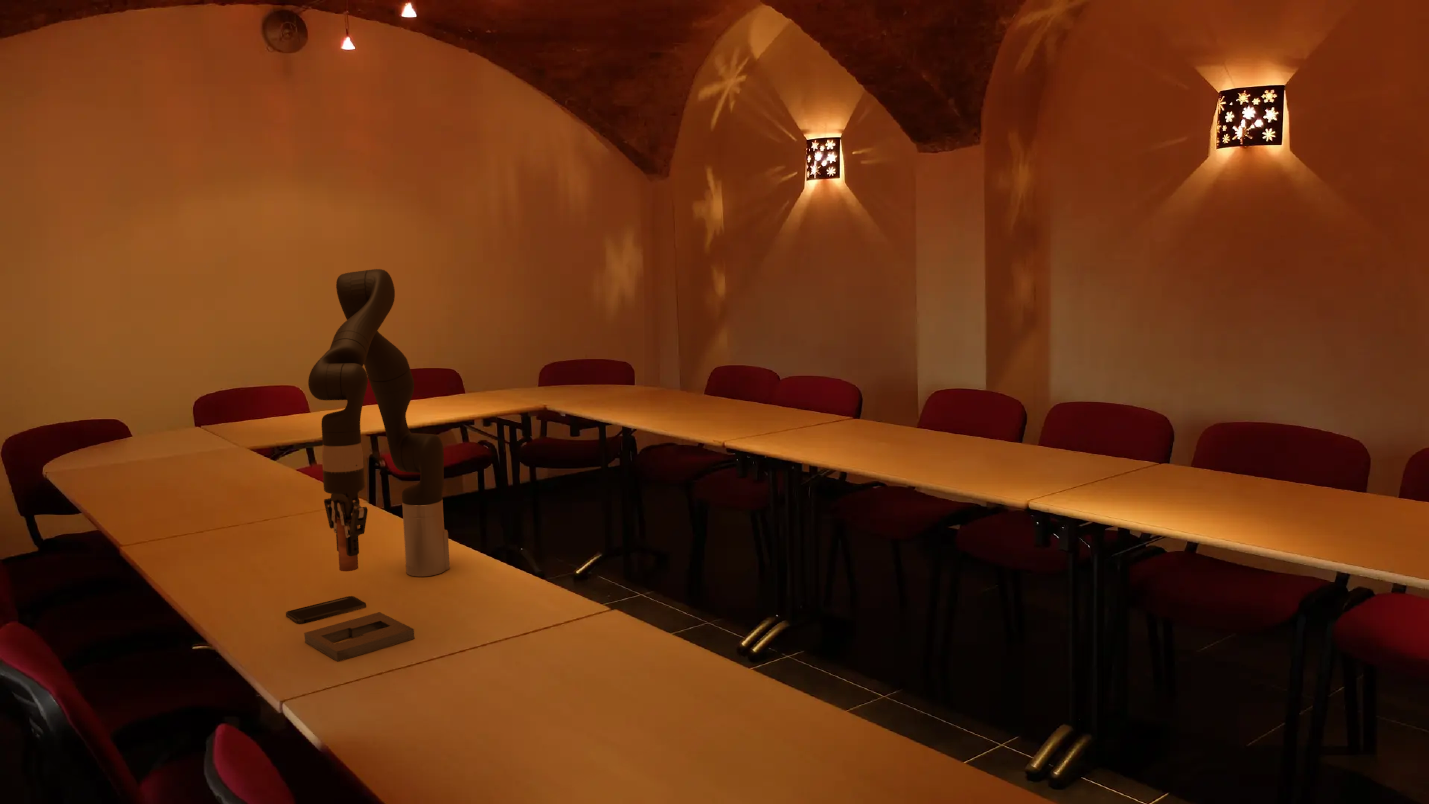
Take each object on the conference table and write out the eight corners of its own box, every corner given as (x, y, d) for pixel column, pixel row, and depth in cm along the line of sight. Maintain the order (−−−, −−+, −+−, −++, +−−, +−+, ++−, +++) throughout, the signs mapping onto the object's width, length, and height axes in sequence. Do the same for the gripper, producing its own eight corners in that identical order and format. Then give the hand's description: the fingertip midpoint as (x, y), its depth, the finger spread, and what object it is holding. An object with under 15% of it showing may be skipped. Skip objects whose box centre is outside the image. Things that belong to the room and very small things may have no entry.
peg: (353, 565, 211) (350, 515, 210) (361, 568, 209) (358, 518, 207) (336, 568, 209) (333, 518, 207) (344, 572, 206) (341, 521, 205)
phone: (284, 612, 226) (352, 595, 236) (284, 617, 226) (352, 600, 236) (298, 621, 220) (367, 604, 230) (299, 626, 220) (368, 609, 230)
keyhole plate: (380, 621, 222) (379, 612, 222) (414, 638, 212) (413, 628, 212) (305, 642, 211) (304, 632, 210) (337, 661, 201) (336, 651, 201)
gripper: (379, 468, 204) (383, 556, 206) (344, 459, 214) (349, 543, 216) (341, 474, 198) (346, 564, 201) (308, 464, 208) (313, 550, 211)
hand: (348, 552), depth 208 cm, fingers closed on peg, 3 cm apart
